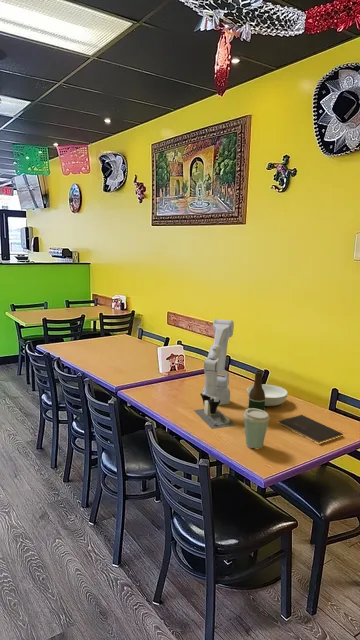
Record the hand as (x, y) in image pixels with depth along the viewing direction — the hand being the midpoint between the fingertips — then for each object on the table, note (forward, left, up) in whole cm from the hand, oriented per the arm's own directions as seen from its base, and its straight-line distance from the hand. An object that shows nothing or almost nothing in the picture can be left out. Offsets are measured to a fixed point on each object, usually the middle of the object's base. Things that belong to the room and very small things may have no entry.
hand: (209, 410), depth 201 cm
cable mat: (0, +5, -2) cm, 6 cm away
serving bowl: (-36, -7, -3) cm, 37 cm away
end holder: (0, +10, -2) cm, 10 cm away
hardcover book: (-37, +28, -3) cm, 47 cm away
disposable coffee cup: (-5, +34, -3) cm, 34 cm away
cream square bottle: (0, 0, -1) cm, 1 cm away
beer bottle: (-19, +11, -3) cm, 22 cm away
